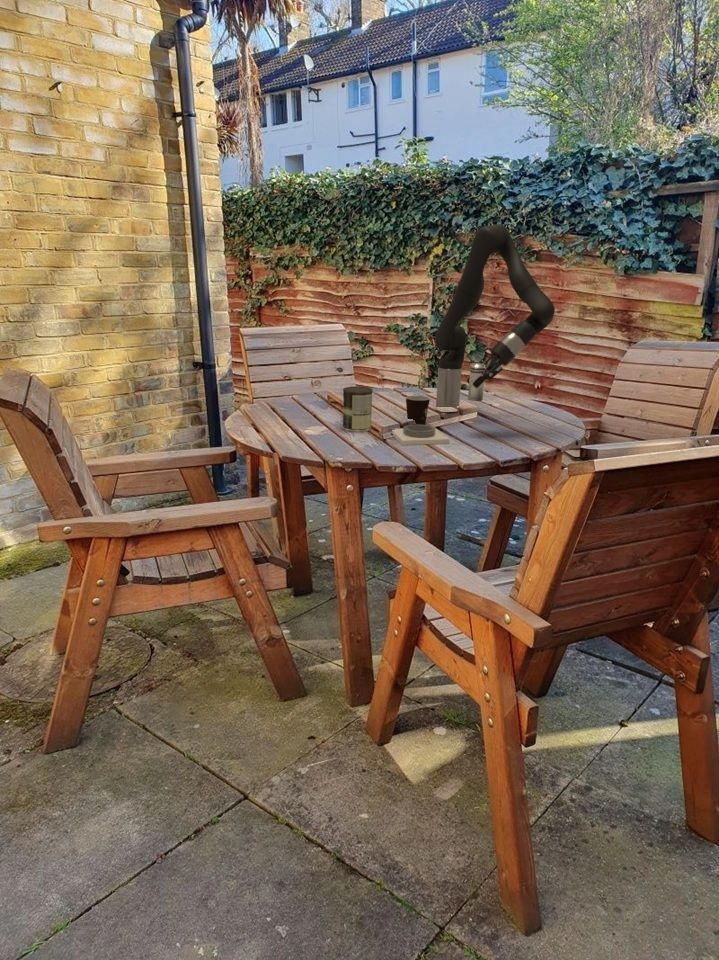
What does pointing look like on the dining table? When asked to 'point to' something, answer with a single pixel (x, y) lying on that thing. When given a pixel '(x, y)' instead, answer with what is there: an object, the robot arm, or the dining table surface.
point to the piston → (475, 372)
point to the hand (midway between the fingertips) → (471, 384)
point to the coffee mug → (417, 408)
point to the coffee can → (357, 409)
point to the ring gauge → (419, 435)
